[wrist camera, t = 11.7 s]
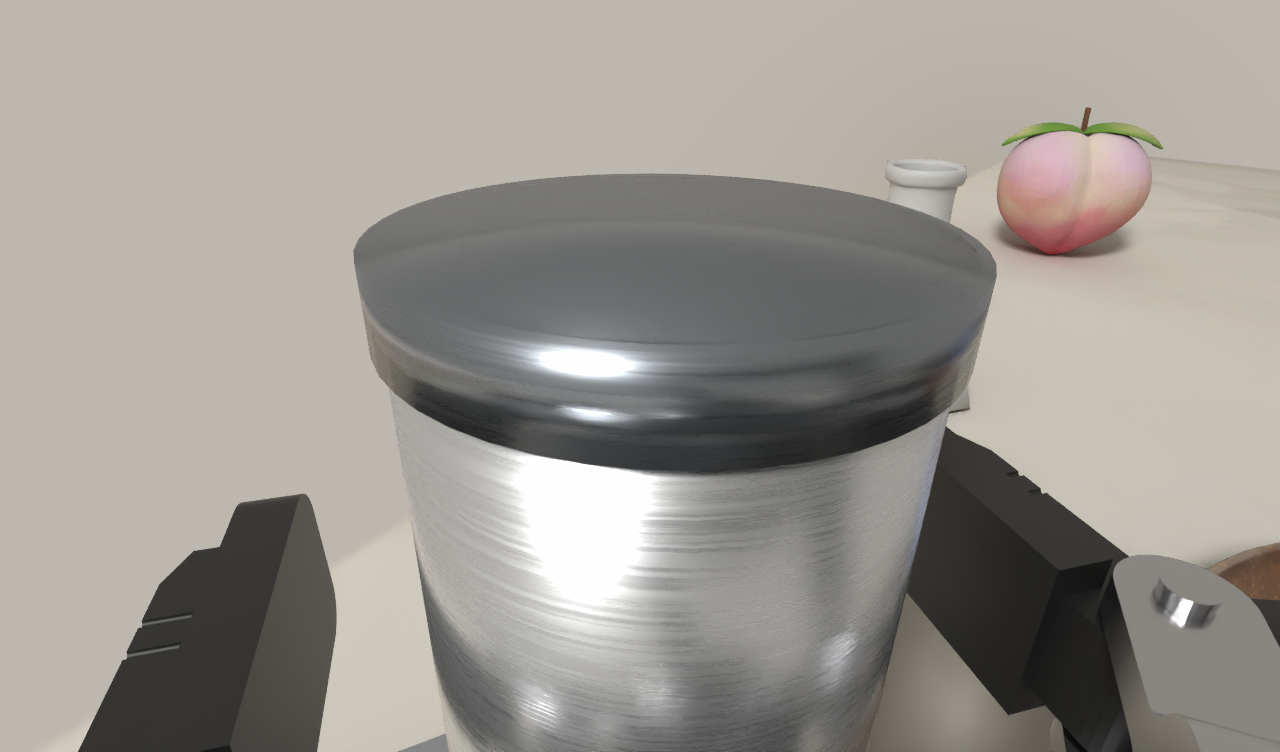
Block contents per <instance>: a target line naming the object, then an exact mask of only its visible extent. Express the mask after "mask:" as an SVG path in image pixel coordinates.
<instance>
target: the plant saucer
mask: <svg viewBox="0 0 1280 752" xmlns="http://www.w3.org/2000/svg"><path fill="white" fill-rule="evenodd" d="M1208 571H1210V572H1212V573H1214V574H1216V575H1218V576H1220V577H1221V578H1223V579H1225V580H1226V581H1228V582H1230V583H1231V584H1233V585H1234V586H1235V587H1237V588H1238V589H1239V590H1241V591H1242V592H1243V593H1244V594H1245V595H1247V596H1248V597H1249V598H1250V599H1265V600H1280V542H1279V543H1275V544H1271V545H1267V546H1262V547H1257V548H1254V549H1251V550H1247V551H1244V552H1242V553H1239V554H1237V555H1234V556H1232V557H1229V558H1227V559H1225V560H1223V561H1221V562H1219V563H1217V564H1215V565H1213V566H1212V567H1211V568H1209V569H1208Z"/></svg>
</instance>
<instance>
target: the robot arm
mask: <svg viewBox="0 0 1280 752" xmlns="http://www.w3.org/2000/svg"><path fill="white" fill-rule="evenodd" d="M906 592H907V593H908V594H909V596H910V597H911V598H912V599H913V600H914V602H915V603H916V604H917V605H918V606H919V608H920V609H921V610H922V611H923V612H924V614H925V615H926V616H927V617H928V619H929V620H930V621H931V622H932V623H933V625H934V626H935V627H936V628H937V629H938V631H939V632H940V633H941V634H942V635H943V637H944V638H945V639H946V640H947V641H948V643H949V644H950V645H951V646H952V648H953V649H954V650H955V651H956V652H957V654H958V655H959V656H960V657H961V658H962V660H963V661H964V662H965V663H966V664H967V666H968V667H969V668H970V669H971V670H972V672H973V673H974V674H975V675H976V677H977V678H978V679H979V680H980V681H981V683H982V684H983V685H984V686H985V687H986V689H987V690H988V691H989V692H990V693H991V695H992V696H993V697H994V698H995V699H996V701H997V702H998V703H999V704H1000V706H1001V707H1002V708H1003V709H1004V710H1005V712H1006V713H1007V714H1008V715H1010V714H1014V713H1018V712H1022V711H1025V710H1029V709H1033V708H1037V707H1040V706H1044V705H1046V707H1047V708H1048V709H1049V710H1050V711H1051V712H1052V713H1053V714H1054V716H1055V718H1054V721H1053V723H1052V726H1051V730H1050V747H1051V752H1280V600H1265V599H1250V598H1249V597H1248V596H1247V595H1245V594H1244V593H1243V592H1242V591H1241V590H1239V589H1238V588H1237V587H1235V586H1234V585H1233V584H1231V583H1230V582H1228V581H1226V580H1225V579H1223V578H1221V577H1220V576H1218V575H1216V574H1214V573H1212V572H1210V571H1208V570H1206V569H1203V568H1201V567H1198V566H1196V565H1193V564H1190V563H1187V562H1185V561H1181V560H1177V559H1174V558H1169V557H1164V556H1157V555H1136V556H1131V557H1129V556H1128V555H1126V554H1125V553H1124V552H1122V551H1121V550H1120V549H1119V548H1117V547H1116V546H1115V545H1113V544H1112V543H1111V542H1109V541H1108V540H1107V539H1106V538H1104V537H1103V536H1102V535H1100V534H1099V533H1098V532H1096V531H1095V530H1094V529H1093V528H1091V527H1090V526H1089V525H1087V524H1086V523H1085V522H1083V521H1082V520H1081V519H1080V518H1078V517H1077V516H1076V515H1074V514H1073V513H1072V512H1071V511H1069V510H1068V509H1067V508H1065V507H1064V506H1063V505H1061V504H1060V503H1059V502H1058V501H1056V500H1055V499H1054V498H1052V497H1051V496H1050V495H1048V494H1047V493H1044V494H1042V493H1041V488H1039V487H1038V486H1037V485H1035V484H1034V483H1033V482H1032V481H1030V480H1029V479H1028V478H1026V477H1025V476H1024V475H1023V476H1019V474H1018V471H1017V470H1016V469H1015V468H1013V467H1012V466H1011V465H1010V464H1008V463H1007V462H1006V461H1004V460H1003V459H1002V458H1000V457H999V456H998V455H997V454H995V453H994V452H993V451H991V450H989V449H987V448H985V447H983V446H981V445H978V444H976V443H974V442H972V441H970V440H968V439H965V438H963V437H961V436H959V435H957V434H955V433H954V432H952V431H951V430H950V429H949V428H947V427H945V431H944V435H943V440H942V444H941V448H940V452H939V456H938V460H937V465H936V469H935V473H934V477H933V481H932V485H931V490H930V494H929V498H928V502H927V506H926V511H925V515H924V519H923V523H922V527H921V531H920V536H919V540H918V544H917V548H916V552H915V556H914V561H913V565H912V569H911V573H910V577H909V582H908V586H907V590H906ZM335 635H336V600H335V593H334V587H333V583H332V579H331V575H330V571H329V568H328V564H327V560H326V556H325V552H324V549H323V545H322V541H321V537H320V533H319V530H318V526H317V522H316V518H315V514H314V511H313V507H312V504H311V502H310V500H309V498H308V496H307V495H306V494H299V495H293V496H285V497H278V498H271V499H265V500H257V501H250V502H243V503H240V504H238V506H237V507H236V509H235V511H234V513H233V516H232V518H231V521H230V523H229V526H228V528H227V531H226V533H225V535H224V538H223V540H222V543H221V545H220V547H217V548H212V549H204V550H198V551H193V552H192V553H191V554H190V555H189V556H188V557H187V558H186V559H185V560H184V561H183V562H182V563H181V564H180V565H179V566H178V567H177V568H176V569H175V570H174V571H173V572H172V573H171V574H170V575H169V576H168V577H167V578H166V579H165V580H164V581H163V582H162V583H161V584H160V585H159V587H158V589H157V591H156V593H155V595H154V597H153V599H152V601H151V603H150V605H149V607H148V609H147V611H146V613H145V615H144V617H143V620H142V628H138V630H137V632H136V634H135V636H134V638H133V640H132V642H131V644H130V646H129V648H128V650H127V659H126V660H123V661H122V662H121V665H120V667H119V669H118V671H117V673H116V675H115V677H114V679H113V681H112V683H111V685H110V687H109V689H108V692H107V693H106V695H105V697H104V699H103V701H102V704H101V706H100V708H99V710H98V712H97V714H96V716H95V718H94V720H93V722H92V724H91V726H90V728H89V730H88V732H87V734H86V736H85V738H84V741H83V743H82V745H81V747H80V749H79V751H78V752H317V748H318V742H319V735H320V729H321V723H322V717H323V710H324V704H325V698H326V692H327V685H328V679H329V673H330V667H331V660H332V654H333V648H334V642H335Z"/></svg>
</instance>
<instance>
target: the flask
mask: <svg viewBox="0 0 1280 752" xmlns="http://www.w3.org/2000/svg"><path fill="white" fill-rule="evenodd" d="M885 177H886V179H887V180H888V181H890V190H889V195H888V201H887V202H891V203H895V204H898V205H902V206H905V207H908V208H911V209H914V210H917V211H920V212H923V213H926V214H928V215H931V216H933V217H936V218H938V219H941V220H943V221H945V222H947V223H949V224H950V218H951V213H952V207H953V202H954V197H955V193H956V190H957V187H958V186H962V185H963V184H964V182H965V180H966V178H967V168H966V166H965V165H961V164H957V163H953V162H949V161H945V160H933V159H915V158H913V159H897V160H888V161H887V164H886V169H885ZM966 408H970V407H969V399H968V392H967V387H966V389H965V390H964V392H963V393H962V394H961V395H960V396H959V397H958V399H957V400H956V401H955V402H954V403H953V404H952V406H951V407H950V410H949V411H955V410H960V409H966Z"/></svg>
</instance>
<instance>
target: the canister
mask: <svg viewBox="0 0 1280 752" xmlns="http://www.w3.org/2000/svg"><path fill="white" fill-rule="evenodd" d="M354 263H355V270H356V276H357V281H358V287H359V293H360V299H361V304H362V310H363V316H364V321H365V327H366V333H367V339H368V345H369V350H370V356H371V360H372V362H373V364H374V366H375V368H376V371H377V373H378V375H379V377H380V378H381V379H382V380H383V381H384V382H385V383H386V385H387V386H388V387H389V391H390V397H391V403H392V408H393V415H394V421H395V427H396V434H397V440H398V446H399V451H400V458H401V464H402V470H403V476H404V482H405V488H406V494H407V500H408V506H409V513H410V519H411V525H412V531H413V537H414V543H415V549H416V555H417V561H418V567H419V573H420V579H421V585H422V591H423V598H424V604H425V610H426V616H427V622H428V628H429V634H430V640H431V646H432V652H433V658H434V664H435V670H436V677H437V683H438V689H439V695H440V701H441V707H442V713H443V719H444V725H445V731H446V737H447V743H448V749H449V752H868V749H869V744H870V740H871V736H872V732H873V728H874V724H875V719H876V715H877V711H878V707H879V703H880V698H881V694H882V690H883V686H884V682H885V678H886V673H887V669H888V665H889V661H890V657H891V653H892V648H893V644H894V640H895V636H896V632H897V627H898V623H899V619H900V615H901V611H902V607H903V602H904V598H905V594H906V590H907V586H908V582H909V577H910V573H911V569H912V565H913V561H914V556H915V552H916V548H917V544H918V540H919V536H920V531H921V527H922V523H923V519H924V515H925V511H926V506H927V502H928V498H929V494H930V490H931V485H932V481H933V477H934V473H935V469H936V465H937V460H938V456H939V452H940V448H941V444H942V440H943V435H944V431H945V427H946V423H947V419H948V415H949V410H950V407H951V406H952V404H953V403H954V402H955V401H956V400H957V399H958V397H959V396H960V395H961V394H962V393H963V392H964V390H965V389H966V387H967V384H968V382H969V380H970V377H971V375H972V373H973V369H974V365H975V361H976V357H977V353H978V349H979V345H980V341H981V337H982V333H983V329H984V325H985V321H986V317H987V313H988V309H989V305H990V301H991V297H992V293H993V289H994V285H995V281H996V277H997V274H996V263H995V261H994V259H993V257H992V255H991V253H990V252H989V251H988V250H987V249H986V248H985V247H984V246H983V245H982V244H981V243H980V242H979V241H978V240H977V239H975V238H974V237H972V236H971V235H969V234H968V233H966V232H965V231H963V230H961V229H959V228H957V227H955V226H953V225H951V224H949V223H947V222H945V221H943V220H941V219H938V218H936V217H933V216H931V215H928V214H926V213H923V212H920V211H917V210H914V209H911V208H908V207H905V206H902V205H898V204H895V203H891V202H887V201H883V200H880V199H876V198H871V197H867V196H863V195H858V194H854V193H849V192H844V191H838V190H833V189H827V188H822V187H815V186H809V185H802V184H795V183H787V182H778V181H771V180H761V179H750V178H740V177H725V176H710V175H687V174H686V175H685V174H609V175H586V176H570V177H558V178H546V179H537V180H528V181H519V182H513V183H505V184H499V185H492V186H487V187H482V188H476V189H471V190H465V191H461V192H457V193H453V194H449V195H444V196H441V197H437V198H434V199H431V200H427V201H424V202H421V203H418V204H415V205H413V206H410V207H407V208H405V209H402V210H399V211H397V212H395V213H393V214H391V215H389V216H387V217H385V218H383V219H382V220H380V221H379V222H377V223H376V224H375V225H373V226H371V227H370V228H369V229H368V230H367V231H366V232H365V233H364V234H363V235H362V236H361V237H360V238H359V240H358V242H357V244H356V246H355V249H354Z"/></svg>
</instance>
